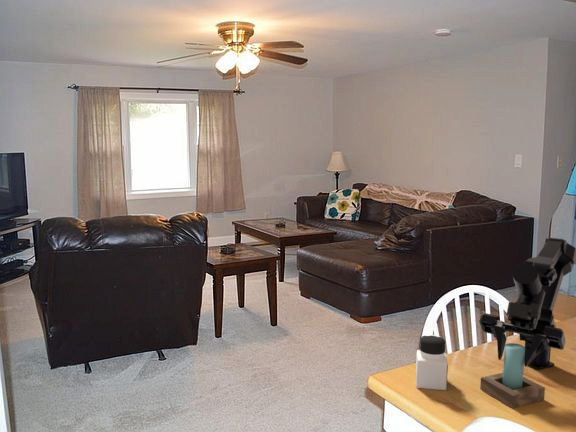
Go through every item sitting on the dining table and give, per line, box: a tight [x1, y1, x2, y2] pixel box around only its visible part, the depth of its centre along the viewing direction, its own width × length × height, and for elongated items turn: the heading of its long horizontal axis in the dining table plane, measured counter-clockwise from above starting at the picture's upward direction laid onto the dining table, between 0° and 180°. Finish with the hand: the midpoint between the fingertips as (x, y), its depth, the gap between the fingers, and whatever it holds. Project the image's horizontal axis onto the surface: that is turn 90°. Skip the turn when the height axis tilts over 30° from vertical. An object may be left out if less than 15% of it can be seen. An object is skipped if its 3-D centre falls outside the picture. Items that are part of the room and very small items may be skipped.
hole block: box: [479, 372, 546, 409], centre depth 129 cm, size 10×10×3 cm
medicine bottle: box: [415, 334, 449, 391], centre depth 134 cm, size 7×7×12 cm
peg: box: [502, 342, 525, 390], centre depth 128 cm, size 4×4×12 cm
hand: (512, 362), depth 126 cm, fingers open, 6 cm apart
